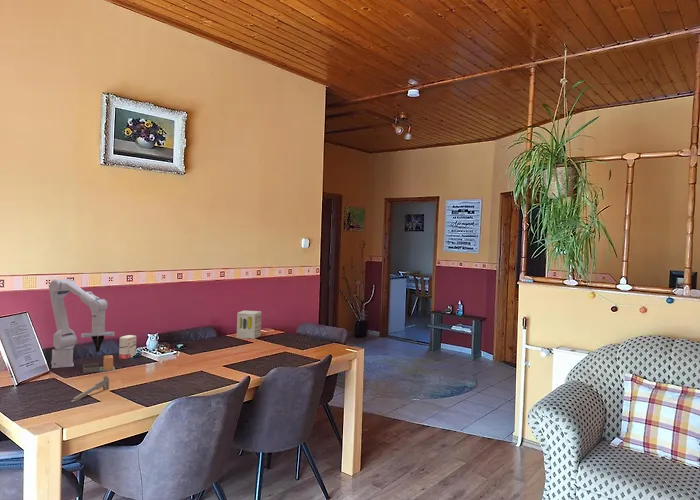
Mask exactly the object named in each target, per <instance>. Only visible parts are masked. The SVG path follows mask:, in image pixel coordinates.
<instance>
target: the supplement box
mask: <svg viewBox="0 0 700 500" xmlns="http://www.w3.org/2000/svg"><path fill="white" fill-rule="evenodd" d="M236 315H237V316H236V317H237V318H236V319H237V320H236V322H237V323H236V338H237V339H247V338H250V340H255V339H257V338H259V337H261V335H262V311H260V310H241V311H238V312H237V314H236Z"/></svg>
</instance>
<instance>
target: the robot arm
mask: <svg viewBox="0 0 700 500" xmlns="http://www.w3.org/2000/svg"><path fill="white" fill-rule="evenodd" d="M48 290H49V294H50V302H51V307H52V312H53V316H54V321H55V327H56V332H55V333H53V335H52V336H53V338H52V339H53V340H52V345H53V347H54V348H53V349H52V351H51V360H50V364H51V369H55V368H56V369H58V368H69V367H74V366H75V365H74V348H75V346H76V345H77V344H78V337H77V335H76V334H75V331H74V330H73V329H71V328H70V326H69V325H70V324H69V320H68V314H67V309H66V305H65V300H64V298H65V297H66V295H68V294H69V293H72V294H73V295H75V296H78V298H80V301H81V302H82V303H84V304H85V305H87V307H89V310H90V314H91V316H92V317H91V332H83V333H81V334H80V338H81V339H85V338H91V340H92V341H93V344H94V347H95V352H96V353H99V352H100V350H101V349H100V348H101V346H102V344H103V341H104V340H105V337H115V331H106V310H107V309H109V303H108V300H106V299H105V298H100V297H99V296H96V295H95V294H94V293H93V291H85V290H84V289H83V288H81V287H80V286H79V285H77V284H76V281H75V280H73V279H71V278H62V279H52V280H51V281H50V283H49V284H48Z"/></svg>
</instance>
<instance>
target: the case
mask: <svg viewBox="0 0 700 500" xmlns="http://www.w3.org/2000/svg"><path fill="white" fill-rule="evenodd" d="M100 367H101V366H100V363H96V362H95V363H86V364H85V363H84V364H82V371H83V373H82V374H87V373H97V372H101V371H100Z"/></svg>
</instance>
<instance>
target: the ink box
mask: <svg viewBox="0 0 700 500" xmlns="http://www.w3.org/2000/svg"><path fill="white" fill-rule="evenodd" d="M118 344H119V346H118V348H119V349H118V351H119V352H118V354H119V355H118V359H119V360H121V359H122V360H123V359H124V360H127V359H133V358H134V357H133V356H134V355H136V356H137V335H134V334H133V335H132V334H128V335H123V336H120V337H119V343H118Z"/></svg>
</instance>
